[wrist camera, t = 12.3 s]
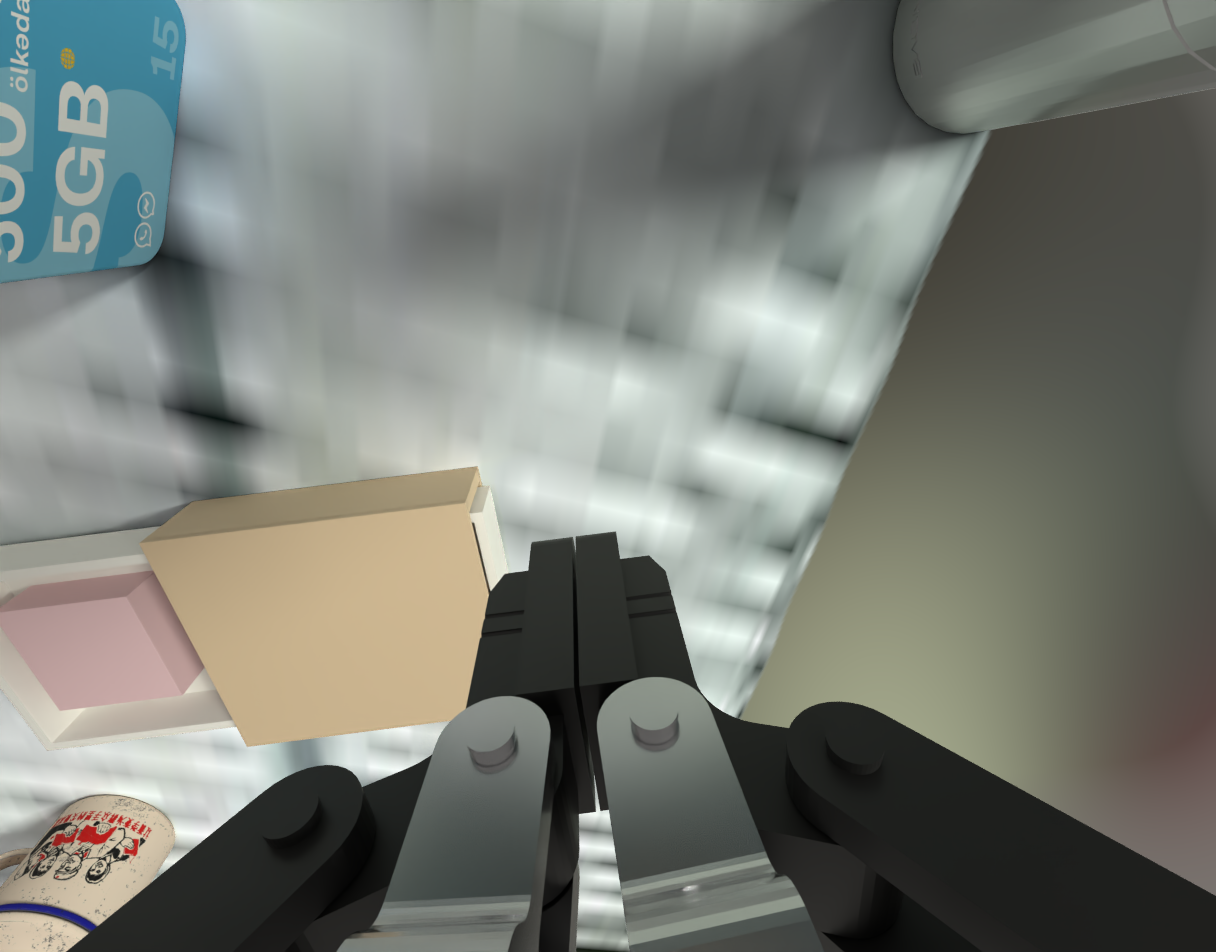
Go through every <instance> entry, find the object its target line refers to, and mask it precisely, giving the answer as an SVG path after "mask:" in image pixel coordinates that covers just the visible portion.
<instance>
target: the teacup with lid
mask: <svg viewBox="0 0 1216 952" xmlns="http://www.w3.org/2000/svg"><path fill="white" fill-rule="evenodd" d="M174 842H175V831H174V828H173V826H172V824H171V822H170V821H169V820H168V818H167V817H166V816H165V815H164V814H163V813H161V812H160V811H159V810H157V809H156V808H154V807H152V806H151V805H149V804H146V803H144V802H142V801H139V800H136V799H132V798H128V797H123V796H114V795H102V796H93V797H88V798H85V799H82V800H80V801H77V802H75V803H74V804H72V805H71V806H69V807H68V808H67V809H66V810H65V811H64V812H63V813H62V814H61V816H60V817H59V818H58V819H57V820H56V821H55V823H54V824H53V825H52V826H51V827H50V829H49V830H48V831H47V832H46V833H45V835H44V836H43V837H42V838H41V839H40V841H39V842H38V843H37V844H36V845H35V847H34V848H25V849H17V850H13V851H9V852H7V853H4V854H2V855H0V870H2V869H5V868H7V867H10V866H13V865H17V864H20V865H19V866H18V867H17V868H16V869H15V871H14V872H13V873H12V874H11V875H10V877H9V878H8V879H7V880H6V881H5V883H4V884H3V885H2V886H1V887H0V952H66V951H67V950H69V949H70V948H71V947H72V946H74V945H75V944H76V943H77V942H79V941H80V940H81V939H82V938H84V937H85V936H86V935H87V934H88V933H90V932H91V931H92V930H93V929H95V928H96V927H97V926H98V925H100V924H101V923H102V922H103V921H105V920H106V919H107V918H108V917H109V916H111V915H112V914H113V913H114V912H116V911H117V910H118V909H119V908H121V907H122V906H123V905H124V904H126V903H127V902H128V901H129V900H131V899H132V898H133V897H134V896H135V895H137V894H138V893H139V892H140V891H142V890H143V889H144V888H145V887H147V886H148V885H149V884H150V883H151V882H152V880H153V879H154V877H155V875H156V874H157V872H158V870H159V869H160V867H161V866H162V864H163V862H164V861H165V859H166V858H167V856H168V854H169V853H170V851H171V849H172V847H173V845H174Z"/></svg>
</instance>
